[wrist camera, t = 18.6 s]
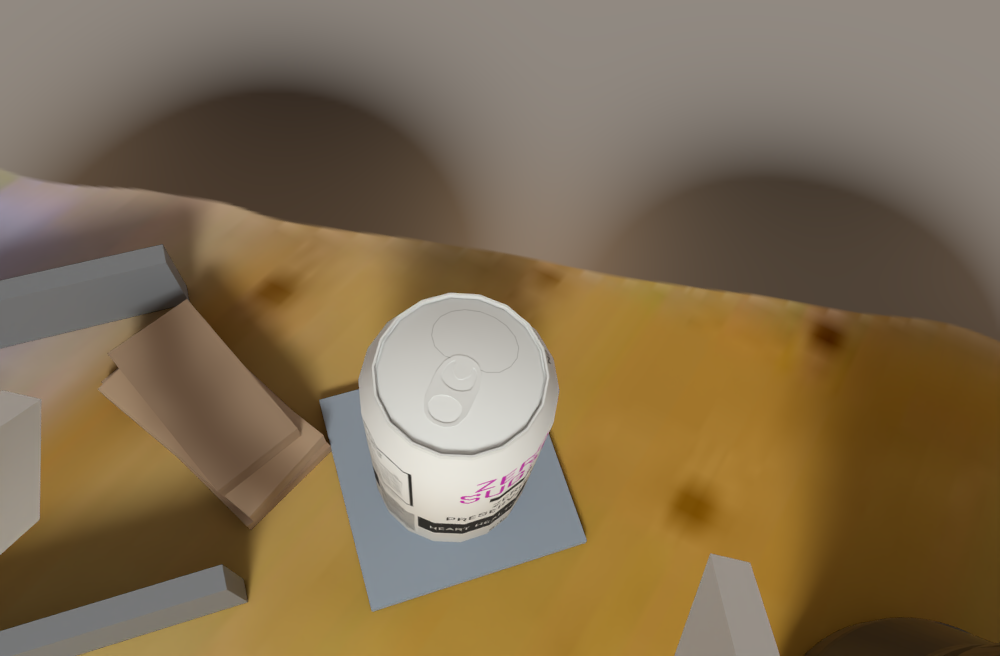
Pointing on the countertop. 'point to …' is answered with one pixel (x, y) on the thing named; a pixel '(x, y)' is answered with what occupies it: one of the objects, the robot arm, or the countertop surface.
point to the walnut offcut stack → (213, 413)
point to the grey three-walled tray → (72, 306)
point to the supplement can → (456, 413)
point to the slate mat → (435, 564)
